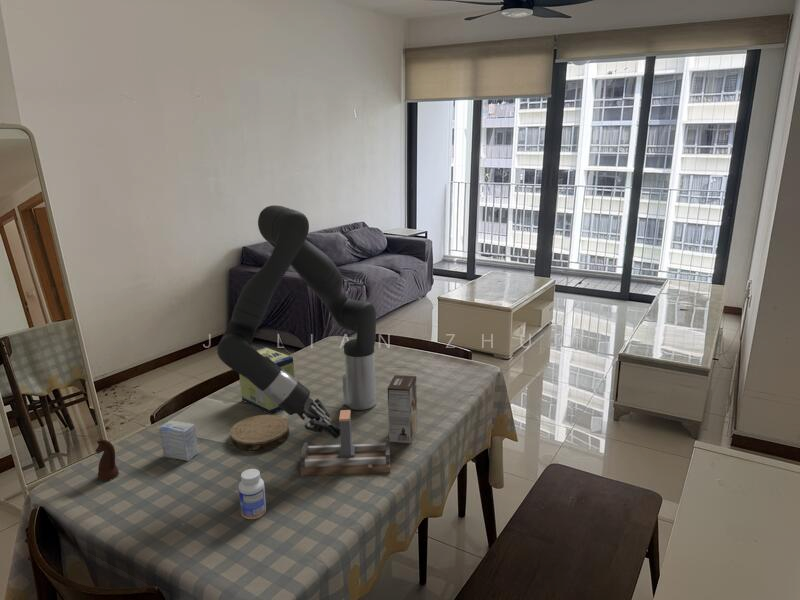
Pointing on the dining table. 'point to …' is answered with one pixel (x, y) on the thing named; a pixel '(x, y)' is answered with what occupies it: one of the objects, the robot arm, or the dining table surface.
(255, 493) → the pill bottle
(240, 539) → the dining table surface
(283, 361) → the protein box
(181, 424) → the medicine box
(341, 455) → the fader tab
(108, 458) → the chess piece
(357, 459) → the board
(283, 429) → the brown round disc
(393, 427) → the coffee box
